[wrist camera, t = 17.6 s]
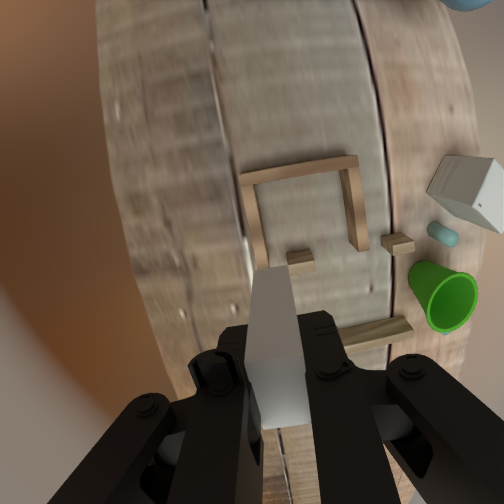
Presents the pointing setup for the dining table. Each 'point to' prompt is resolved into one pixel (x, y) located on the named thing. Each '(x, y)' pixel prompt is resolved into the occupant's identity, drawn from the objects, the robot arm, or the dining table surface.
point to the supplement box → (471, 190)
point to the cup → (443, 295)
